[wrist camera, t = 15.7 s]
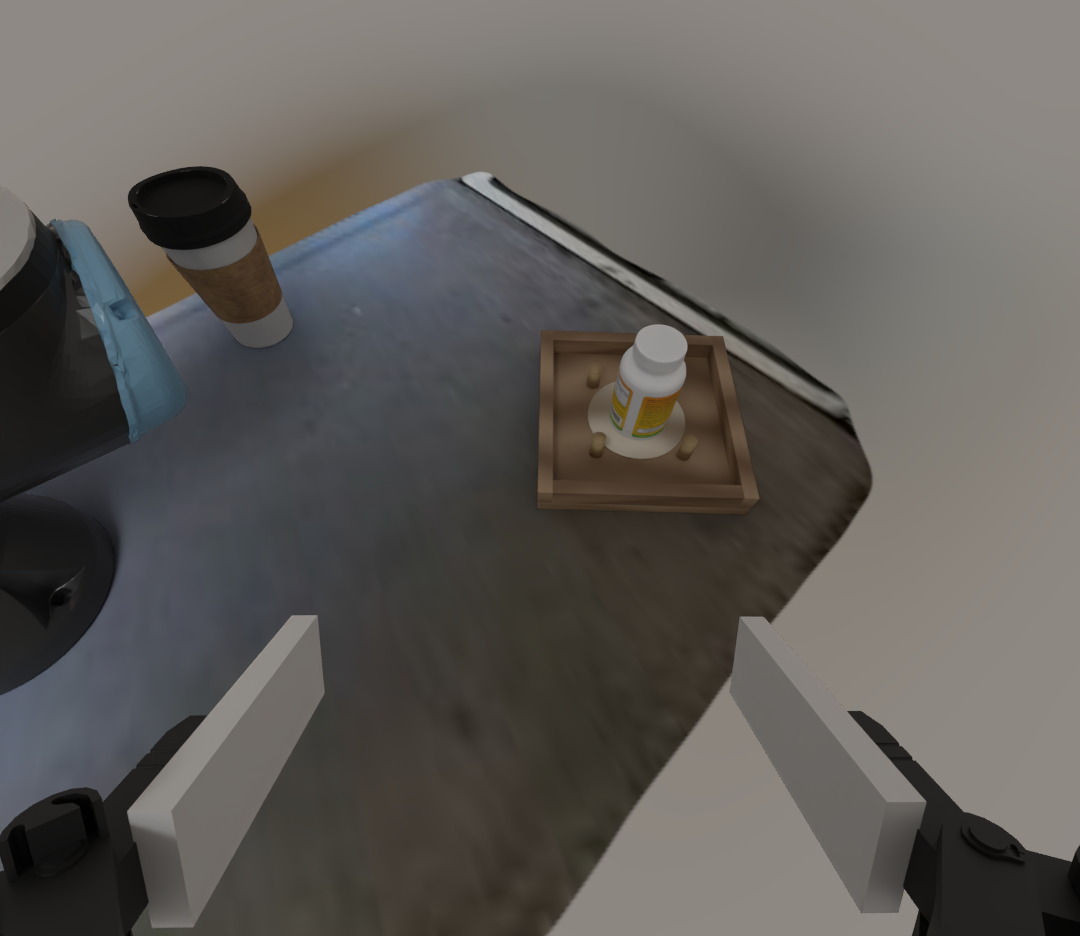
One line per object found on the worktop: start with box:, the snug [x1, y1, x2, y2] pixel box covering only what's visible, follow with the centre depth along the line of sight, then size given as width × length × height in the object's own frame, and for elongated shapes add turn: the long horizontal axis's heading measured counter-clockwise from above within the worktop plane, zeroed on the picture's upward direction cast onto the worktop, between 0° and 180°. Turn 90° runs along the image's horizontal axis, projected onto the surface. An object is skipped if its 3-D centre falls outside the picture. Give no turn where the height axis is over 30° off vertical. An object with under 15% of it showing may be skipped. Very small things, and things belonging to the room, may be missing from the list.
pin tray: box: [537, 330, 760, 514], centre depth 46 cm, size 18×18×4 cm
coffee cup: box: [128, 166, 293, 348], centre depth 47 cm, size 8×8×15 cm
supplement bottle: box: [609, 325, 687, 440], centre depth 42 cm, size 5×5×10 cm
